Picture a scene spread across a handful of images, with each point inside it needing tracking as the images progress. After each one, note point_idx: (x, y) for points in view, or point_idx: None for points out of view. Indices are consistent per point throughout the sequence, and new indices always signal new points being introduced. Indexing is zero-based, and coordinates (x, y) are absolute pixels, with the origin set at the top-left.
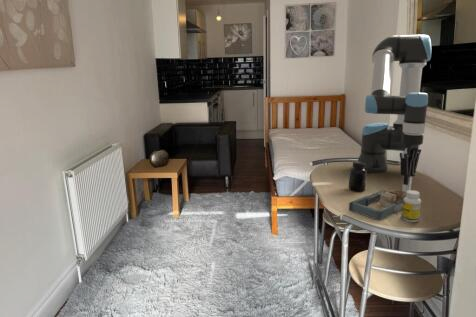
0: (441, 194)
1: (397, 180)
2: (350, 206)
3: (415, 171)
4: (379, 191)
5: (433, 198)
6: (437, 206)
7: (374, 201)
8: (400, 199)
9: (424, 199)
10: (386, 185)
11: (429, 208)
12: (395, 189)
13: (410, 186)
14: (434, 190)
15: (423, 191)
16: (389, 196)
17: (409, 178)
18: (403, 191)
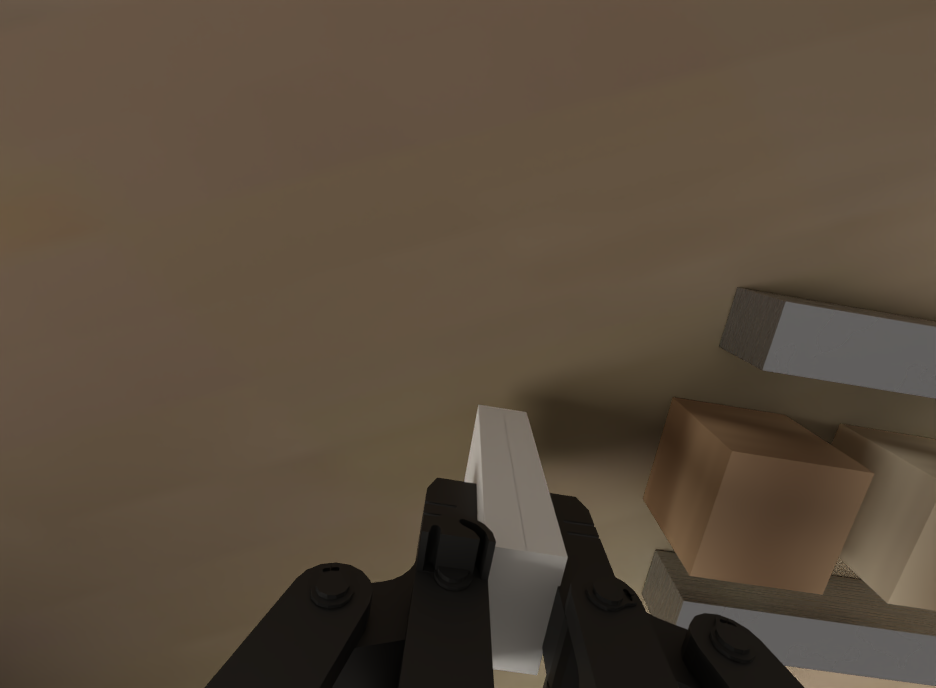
0: (103, 94)
1: (7, 640)
2: None
3: (298, 598)
4: None
5: (349, 140)
6: (634, 14)
7: None
8: (752, 420)
9: (466, 222)
10: None
11: (767, 81)
12: (712, 555)
13: (498, 444)
14: (11, 215)
15: (167, 314)
16: None
17: (556, 550)
18: (743, 455)
